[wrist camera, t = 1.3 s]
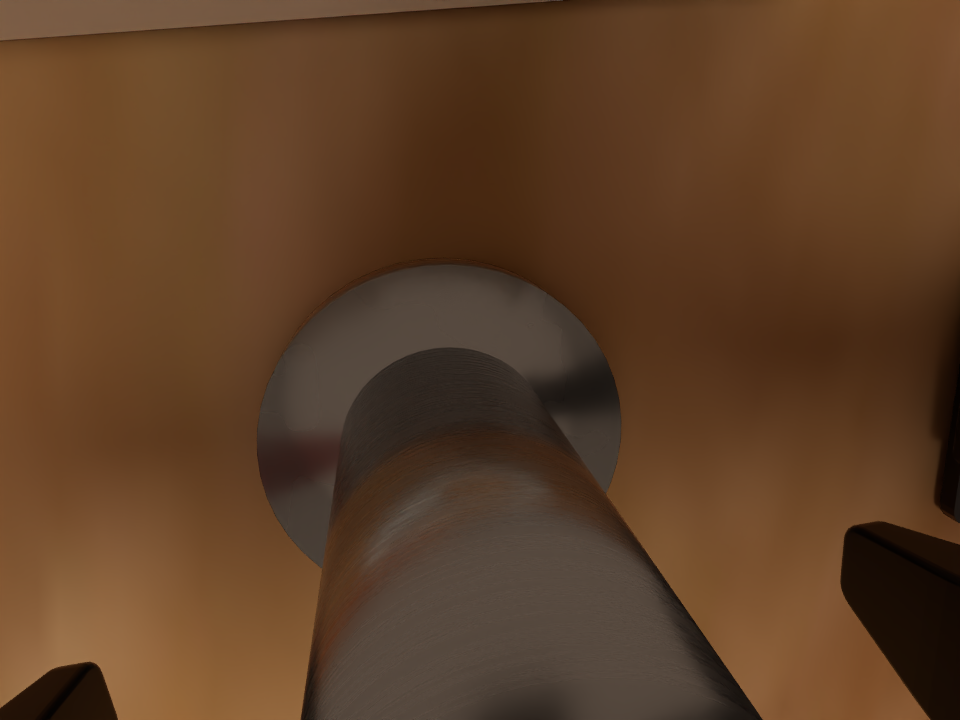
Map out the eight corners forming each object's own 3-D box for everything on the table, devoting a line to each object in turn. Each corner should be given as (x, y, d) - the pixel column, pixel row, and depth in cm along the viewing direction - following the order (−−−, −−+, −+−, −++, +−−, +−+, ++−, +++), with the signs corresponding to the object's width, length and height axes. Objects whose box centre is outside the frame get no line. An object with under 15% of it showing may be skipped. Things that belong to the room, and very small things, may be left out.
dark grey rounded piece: (597, 238, 12) (1069, 388, 4) (609, 544, 15) (932, 1072, 6) (231, 281, 12) (-171, 588, 3) (300, 598, 14) (172, 1296, 5)
